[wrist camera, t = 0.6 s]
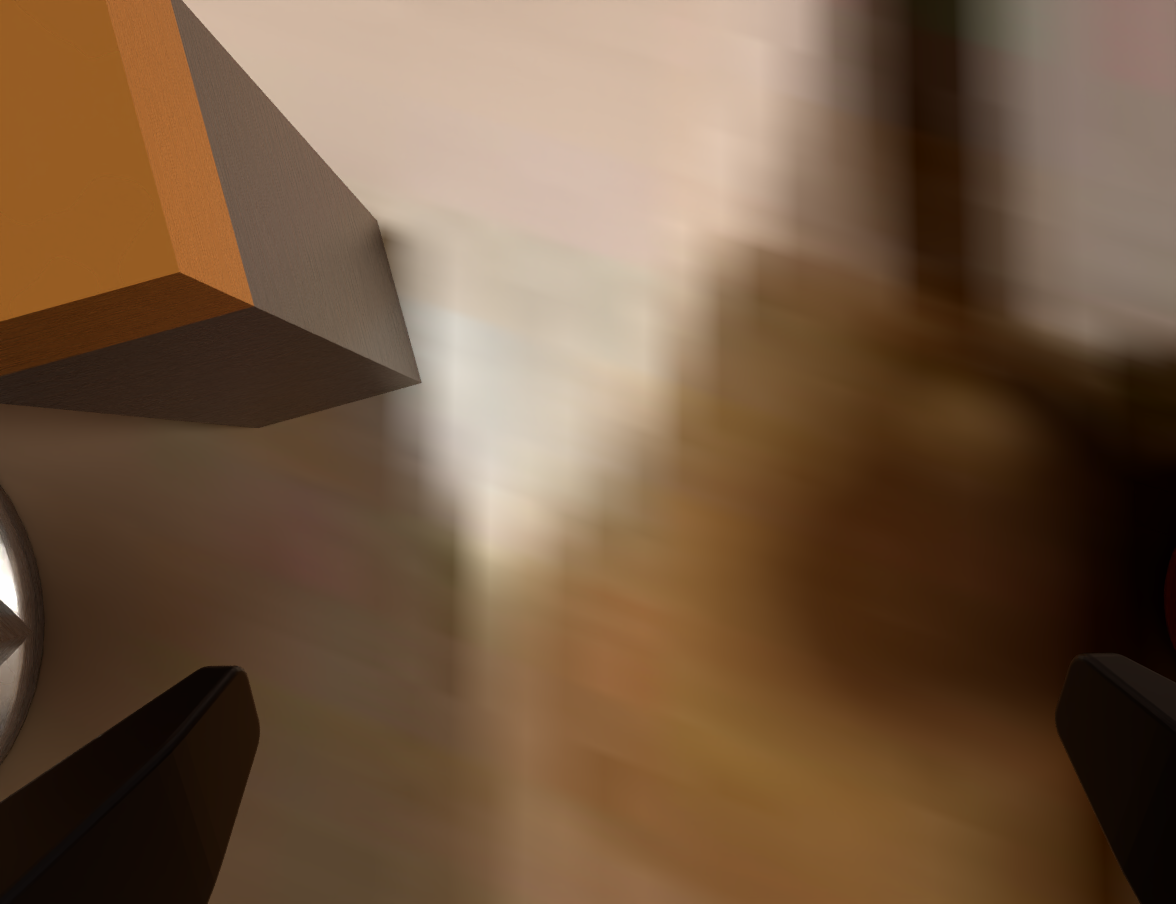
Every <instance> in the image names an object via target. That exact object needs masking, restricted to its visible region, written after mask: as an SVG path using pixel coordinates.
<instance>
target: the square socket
mask: <svg viewBox="0 0 1176 904" xmlns="http://www.w3.org/2000/svg"><path fill="white" fill-rule="evenodd" d="M43 635H44V614H43V599H42V589H41V584H40V579H39V574H38V569H37V564H36V560H35V557H34V554H33V551H32V548H31V545H30V542H29V539H28V536H27V533H26V530H25V528H24V526H23V524H22V522H21V520H20V518H19V516H18V514H17V512H16V510H15V508H14V506H13V504H12V502H11V500H10V499H9V497H8V496H7V494H6V493H5V491H4V490H3V488H2V487H1V485H0V765H1V763H2V762H3V760H4V759H5V757H6V756H7V754H8V753H9V751H10V750H11V748H12V746H13V744H14V742H15V740H16V738H17V736H18V734H19V732H20V730H21V728H22V726H23V723H24V721H25V719H26V716H27V713H28V710H29V707H30V705H31V702H32V699H33V696H34V693H35V690H36V685H37V680H38V675H39V670H40V665H41V660H42V651H43Z"/></svg>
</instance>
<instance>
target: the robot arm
mask: <svg viewBox="0 0 1176 904" xmlns="http://www.w3.org/2000/svg"><path fill="white" fill-rule="evenodd" d="M1055 724H1056V728H1057V732H1058V735H1059V737H1060V739H1061V742H1062V744H1063V746H1064V748H1065V750H1066V753H1067V755H1068V757H1069V759H1070V761H1071V763H1072V766H1073V768H1074V770H1075V772H1076V774H1077V776H1078V779H1079V781H1080V783H1081V785H1082V787H1083V789H1084V792H1085V794H1086V796H1087V798H1088V800H1089V802H1090V805H1091V807H1092V809H1093V811H1094V813H1095V815H1096V818H1097V820H1098V822H1099V824H1100V826H1101V828H1102V831H1103V833H1104V835H1105V837H1106V839H1107V842H1108V844H1109V846H1110V848H1111V850H1112V852H1113V854H1114V856H1115V858H1116V860H1117V862H1118V864H1119V866H1120V868H1121V870H1122V872H1123V874H1124V876H1125V877H1126V879H1127V881H1128V883H1129V885H1130V887H1131V888H1132V890H1133V892H1134V894H1135V896H1136V897H1137V899H1138V901H1139V903H1140V904H1176V683H1175V682H1174V681H1172V680H1170V679H1168V678H1166V677H1164V676H1162V675H1160V674H1158V673H1156V672H1154V671H1152V670H1150V669H1148V668H1146V667H1144V666H1142V665H1140V664H1138V663H1137V662H1135V661H1133V660H1131V659H1129V658H1127V657H1125V656H1123V655H1120V654H1116V653H1082V654H1079V655H1076V656H1075V657H1074V658H1073V659H1072V660H1071V662H1070V665H1069V668H1068V671H1067V674H1066V677H1065V681H1064V684H1063V687H1062V690H1061V694H1060V697H1059V700H1058V703H1057V706H1056V711H1055ZM259 737H260V725H259V719H258V715H257V711H256V707H255V703H254V699H253V695H252V691H251V687H250V684H249V680H248V677H247V674H246V672H245V671H244V669H242V668H241V667H239V666H207V667H203V668H200V669H199V670H197V671H195V672H194V673H192V674H191V675H189V676H188V677H186V678H185V679H183V680H182V681H180V682H179V683H177V684H176V685H174V686H173V687H171V688H170V689H168V690H167V691H165V692H164V693H162V694H161V695H159V696H158V697H156V698H155V699H153V700H152V701H150V702H149V703H147V704H146V705H144V706H143V707H142V708H140V709H139V710H137V711H136V712H134V713H133V714H131V715H130V716H128V717H127V718H125V719H124V720H122V721H121V722H119V723H118V724H116V725H115V726H113V727H112V728H110V729H109V730H107V731H106V732H104V733H103V734H101V735H100V736H98V737H97V738H95V739H94V740H92V741H91V742H89V743H88V744H86V745H85V746H83V747H82V748H80V749H79V750H77V751H76V752H74V753H73V754H71V755H70V756H68V757H67V758H65V759H64V760H62V761H61V762H59V763H58V764H56V765H55V766H53V767H52V768H50V769H49V770H47V771H46V772H45V773H43V774H42V775H40V776H39V777H37V778H36V779H34V780H33V781H31V782H30V783H28V784H27V785H25V786H24V787H22V788H21V789H19V790H18V791H16V792H15V793H13V794H12V795H10V796H9V797H7V798H6V799H4V800H3V801H1V802H0V904H208V901H209V899H210V896H211V894H212V891H213V889H214V886H215V883H216V880H217V877H218V874H219V871H220V868H221V865H222V862H223V859H224V856H225V853H226V849H227V846H228V843H229V839H230V836H231V833H232V830H233V826H234V823H235V820H236V816H237V813H238V810H239V806H240V803H241V800H242V797H243V793H244V790H245V787H246V783H247V780H248V777H249V774H250V770H251V767H252V764H253V760H254V757H255V754H256V751H257V747H258V743H259Z"/></svg>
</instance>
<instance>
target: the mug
mask: <svg viewBox="0 0 1176 904" xmlns="http://www.w3.org/2000/svg"><path fill="white" fill-rule="evenodd" d="M1164 612H1165V620H1166V624H1167V629H1168V633H1169V636H1170V639H1171V642H1172V644H1173V647H1174V649H1175V651H1176V546H1175V548H1174V550H1173V553H1172V555H1171V558H1170V561H1169V565H1168V568H1167V572H1166V578H1165V584H1164Z"/></svg>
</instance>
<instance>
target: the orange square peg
mask: <svg viewBox="0 0 1176 904" xmlns="http://www.w3.org/2000/svg"><path fill="white" fill-rule="evenodd" d="M419 383H421V379H420V376H419V372H418V368H417V365H416V361H415V357H414V354H413V350H412V346H411V343H410V339H409V336H408V332H407V328H406V325H405V321H404V317H403V314H402V310H401V306H400V303H399V299H398V296H397V292H396V288H395V285H394V281H393V277H392V274H391V270H390V266H389V263H388V259H387V256H386V252H385V248H384V245H383V241H382V237H381V234H380V230H379V226H378V223H377V220H376V219H375V218H374V217H373V216H372V215H371V213H370V212H369V211H368V210H367V209H366V208H365V207H364V206H363V204H362V203H361V202H360V201H359V200H358V199H357V198H356V196H355V195H354V194H353V193H352V192H351V191H350V190H349V189H348V187H347V186H346V185H345V184H344V183H343V182H342V181H341V180H340V178H339V177H338V176H337V175H336V174H335V173H334V172H333V171H332V169H331V168H330V167H329V166H328V165H327V164H326V163H325V161H324V160H323V159H322V158H321V157H320V156H319V155H318V154H317V152H316V151H315V150H314V149H313V148H312V147H311V146H310V145H309V143H308V142H307V141H306V140H305V139H304V138H303V137H302V135H301V134H300V133H299V132H298V131H297V130H296V129H295V128H294V126H293V125H292V124H291V123H290V122H289V121H288V120H287V119H286V117H285V116H284V115H283V114H282V113H281V112H280V111H279V110H278V108H277V107H276V106H275V105H274V104H273V103H272V102H271V100H270V99H269V98H268V97H267V96H266V95H265V94H264V93H263V91H262V90H261V89H260V88H259V87H258V86H257V85H256V84H255V82H254V81H253V80H252V79H251V78H250V77H249V76H248V74H247V73H246V72H245V71H244V70H243V69H242V68H241V67H240V65H239V64H238V63H237V62H236V61H235V60H234V59H233V58H232V56H231V55H230V54H229V53H228V52H227V51H226V50H225V49H224V47H223V46H222V45H221V44H220V43H219V42H218V41H217V39H216V38H215V37H214V36H213V35H212V34H211V33H210V32H209V30H208V29H207V28H206V27H205V26H204V25H203V24H202V23H201V21H200V20H199V19H198V18H197V17H196V16H195V15H194V13H193V12H192V11H191V10H190V9H189V8H188V7H187V6H186V4H185V3H184V2H183V1H182V0H0V403H2V404H12V405H23V406H33V407H44V408H54V409H65V410H75V411H86V412H97V413H107V414H118V415H128V416H139V417H149V418H160V419H170V420H181V421H191V422H202V423H213V424H223V425H234V426H244V427H255V428H260V427H264V426H267V425H271V424H275V423H278V422H282V421H285V420H289V419H293V418H296V417H300V416H303V415H307V414H311V413H314V412H318V411H322V410H325V409H329V408H332V407H336V406H340V405H343V404H347V403H350V402H354V401H358V400H361V399H365V398H369V397H372V396H376V395H379V394H383V393H387V392H390V391H394V390H398V389H401V388H405V387H408V386H412V385H416V384H419Z"/></svg>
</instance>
